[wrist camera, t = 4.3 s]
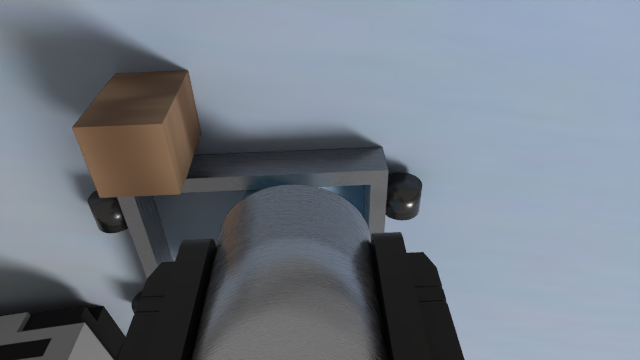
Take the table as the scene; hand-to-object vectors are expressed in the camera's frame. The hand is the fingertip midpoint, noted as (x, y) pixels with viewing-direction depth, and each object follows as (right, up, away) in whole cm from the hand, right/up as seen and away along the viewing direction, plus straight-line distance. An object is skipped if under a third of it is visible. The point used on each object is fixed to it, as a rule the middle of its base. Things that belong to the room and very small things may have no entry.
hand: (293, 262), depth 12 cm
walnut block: (-9, +6, +15) cm, 18 cm away
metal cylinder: (0, 0, 0) cm, 1 cm away
